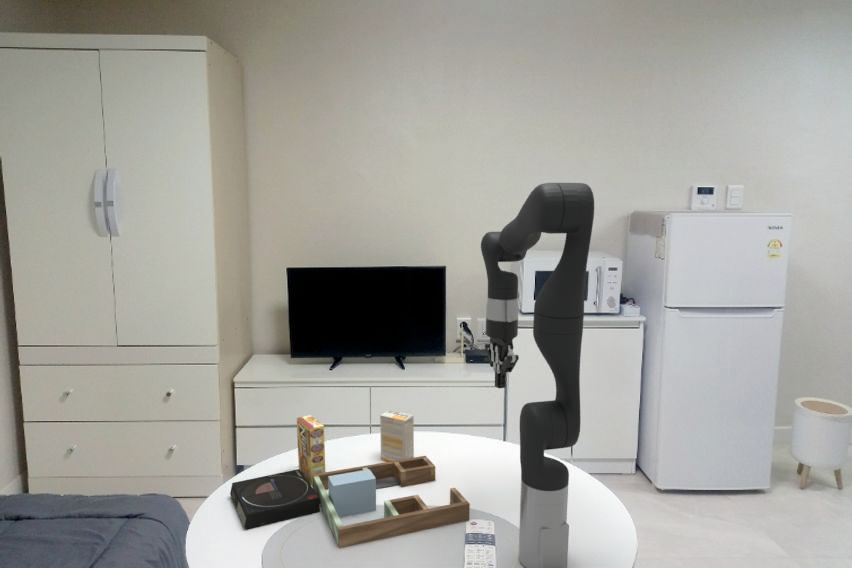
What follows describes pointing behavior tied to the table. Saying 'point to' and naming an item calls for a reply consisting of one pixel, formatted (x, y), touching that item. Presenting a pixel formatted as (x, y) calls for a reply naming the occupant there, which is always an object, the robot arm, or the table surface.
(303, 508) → the portable cd player
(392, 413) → the supplement box
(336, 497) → the brick
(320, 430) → the candy box
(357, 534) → the frame
